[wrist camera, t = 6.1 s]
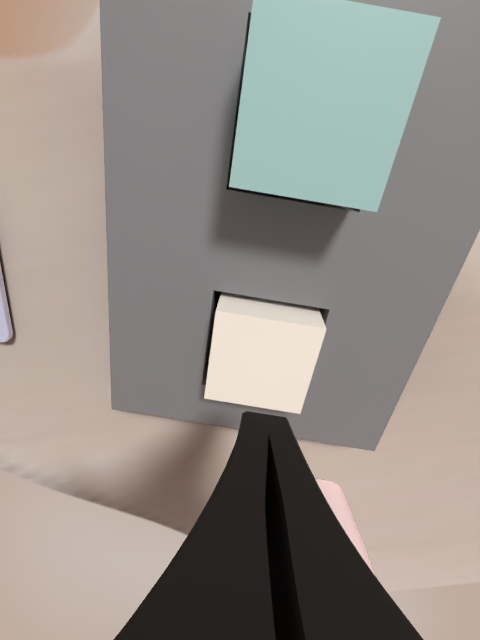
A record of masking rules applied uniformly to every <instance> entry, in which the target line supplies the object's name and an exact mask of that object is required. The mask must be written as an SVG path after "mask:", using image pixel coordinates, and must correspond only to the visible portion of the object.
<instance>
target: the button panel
mask: <svg viewBox="0 0 480 640" xmlns="http://www.w3.org/2000/svg"><path fill="white" fill-rule="evenodd" d="M348 1H353V2H359V3H364V4H370V5H375V6H381V7H386V8H392V9H397V10H403V11H409V12H414V13H420V14H425V15H431V16H436V17H441V19H440V22H439V25H438V28H437V31H436V35H435V38H434V41H433V44H432V47H431V50H430V53H429V56H428V59H427V62H426V65H425V68H424V71H423V74H422V77H421V80H420V83H419V86H418V89H417V92H416V95H415V98H414V101H413V104H412V107H411V111H410V114H409V117H408V120H407V123H406V126H405V129H404V132H403V135H402V138H401V141H400V144H399V147H398V150H397V153H396V156H395V159H394V162H393V165H392V168H391V171H390V174H389V177H388V180H387V184H386V187H385V190H384V193H383V196H382V199H381V202H380V205H379V208H378V211H377V212H373V211H367V210H361V209H356V208H350V207H344V206H338V205H332V204H326V203H320V202H315V201H309V200H303V199H297V198H291V197H285V196H279V195H274V194H268V193H262V192H256V191H250V190H244V189H239V188H233V187H229V183H230V175H231V167H232V159H233V151H234V144H235V136H236V128H237V120H238V113H239V105H240V97H241V89H242V82H243V74H244V66H245V58H246V50H247V43H248V35H249V27H250V19H251V12H252V4H253V0H100V28H101V61H102V95H103V129H104V163H105V197H106V231H107V265H108V299H109V332H110V366H111V400H112V409H115V410H121V411H127V412H133V413H140V414H146V415H152V416H158V417H165V418H171V419H177V420H183V421H190V422H196V423H202V424H208V425H215V426H221V427H227V428H233V429H239V427H240V422H241V417H242V413H244V412H246V411H250V412H256V413H262V414H268V415H275V416H281V417H286V418H287V419H288V421H289V423H290V426H291V428H292V431H293V433H294V436H295V438H296V439H302V440H308V441H314V442H321V443H327V444H333V445H339V446H346V447H352V448H358V449H364V450H371V451H375V449H376V447H377V445H378V443H379V441H380V438H381V436H382V434H383V432H384V430H385V428H386V426H387V424H388V422H389V419H390V417H391V415H392V413H393V411H394V409H395V407H396V405H397V403H398V401H399V398H400V396H401V394H402V392H403V390H404V388H405V386H406V384H407V382H408V380H409V377H410V375H411V373H412V371H413V369H414V367H415V365H416V363H417V361H418V358H419V356H420V354H421V352H422V350H423V348H424V346H425V344H426V342H427V340H428V337H429V335H430V333H431V331H432V329H433V327H434V325H435V323H436V321H437V319H438V316H439V314H440V312H441V310H442V308H443V306H444V304H445V302H446V300H447V298H448V295H449V293H450V291H451V289H452V287H453V285H454V283H455V281H456V279H457V276H458V274H459V272H460V270H461V268H462V266H463V264H464V262H465V260H466V258H467V255H468V253H469V251H470V249H471V247H472V245H473V243H474V241H475V239H476V237H477V234H478V232H479V230H480V0H348ZM217 291H221V292H227V293H233V294H239V295H245V296H251V297H257V298H263V299H269V300H275V301H281V302H287V303H293V304H299V305H305V306H311V307H317V308H319V311H320V313H321V316H322V319H323V321H324V324H325V326H326V333H325V336H324V339H323V342H322V346H321V349H320V352H319V355H318V359H317V362H316V365H315V368H314V371H313V375H312V378H311V381H310V384H309V388H308V391H307V394H306V397H305V400H304V404H303V407H302V410H301V413H300V414H297V413H291V412H284V411H278V410H272V409H266V408H260V407H254V406H247V405H241V404H235V403H229V402H223V401H216V400H210V399H204V395H205V387H206V380H207V372H208V365H209V362H208V356H209V348H210V341H211V333H212V326H213V318H214V310H215V303H216V295H217Z"/></svg>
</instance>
